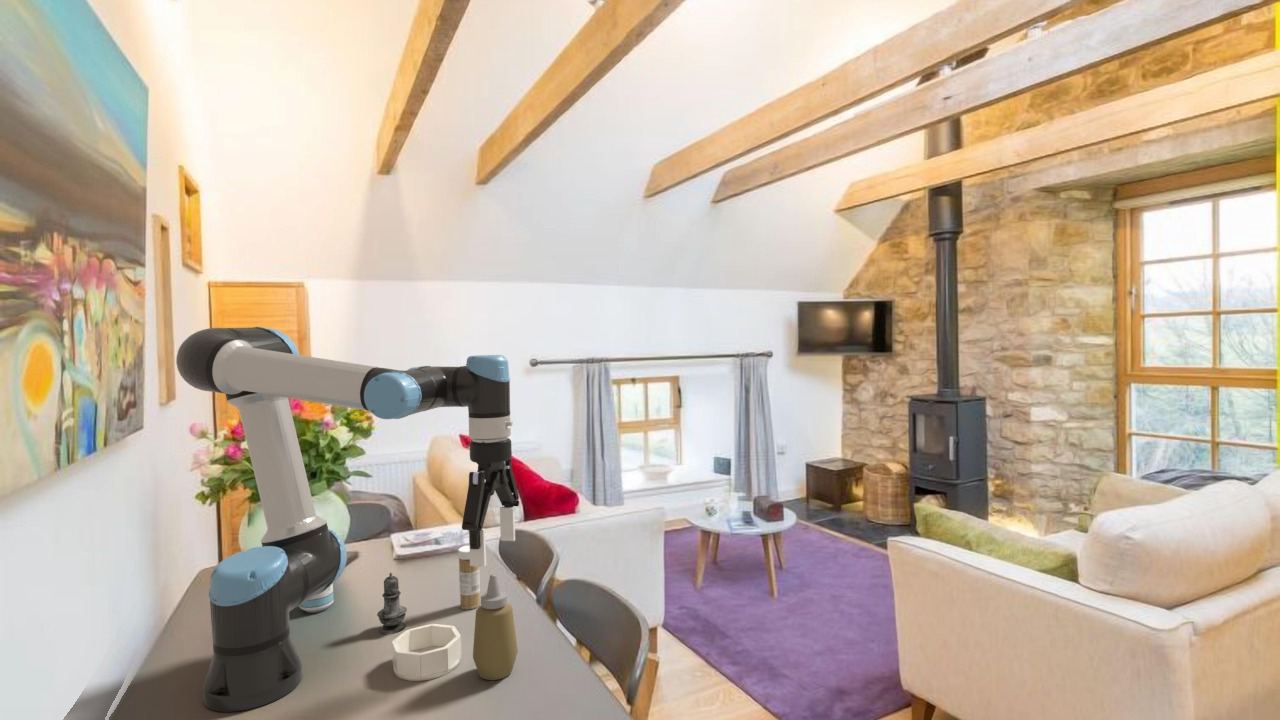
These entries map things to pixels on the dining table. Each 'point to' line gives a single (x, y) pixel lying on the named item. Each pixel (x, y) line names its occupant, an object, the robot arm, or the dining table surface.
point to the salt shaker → (391, 608)
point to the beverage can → (319, 601)
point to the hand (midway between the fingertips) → (493, 552)
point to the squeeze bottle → (494, 634)
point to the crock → (426, 652)
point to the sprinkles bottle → (468, 580)
